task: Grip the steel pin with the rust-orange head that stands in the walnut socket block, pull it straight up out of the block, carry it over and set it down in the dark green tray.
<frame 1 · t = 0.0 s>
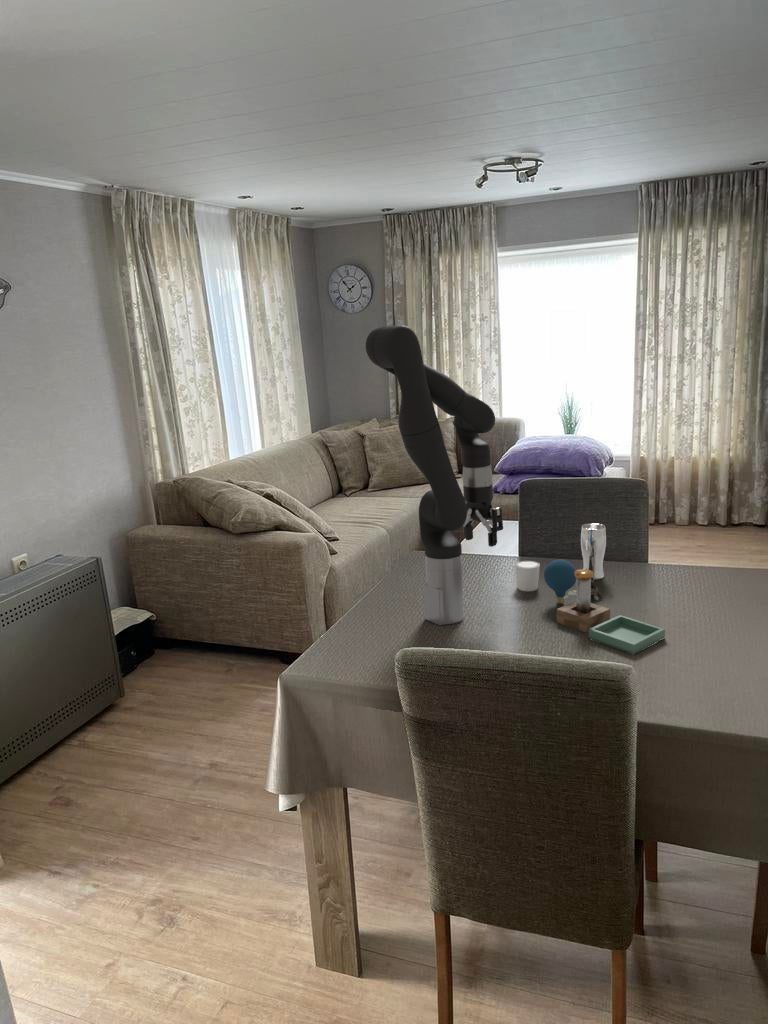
hand: (480, 542, 189), 17 cm above the table, tool pointing down, fingers open, 8 cm apart
pin: (583, 597, 177), in the socket block
tray: (626, 639, 167), on the table
white cylinder: (527, 588, 204), on the table
eiffel tower figurine: (591, 600, 194), on the table
socket block: (583, 622, 178), on the table
light bulb: (560, 604, 191), on the table
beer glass: (592, 576, 210), on the table
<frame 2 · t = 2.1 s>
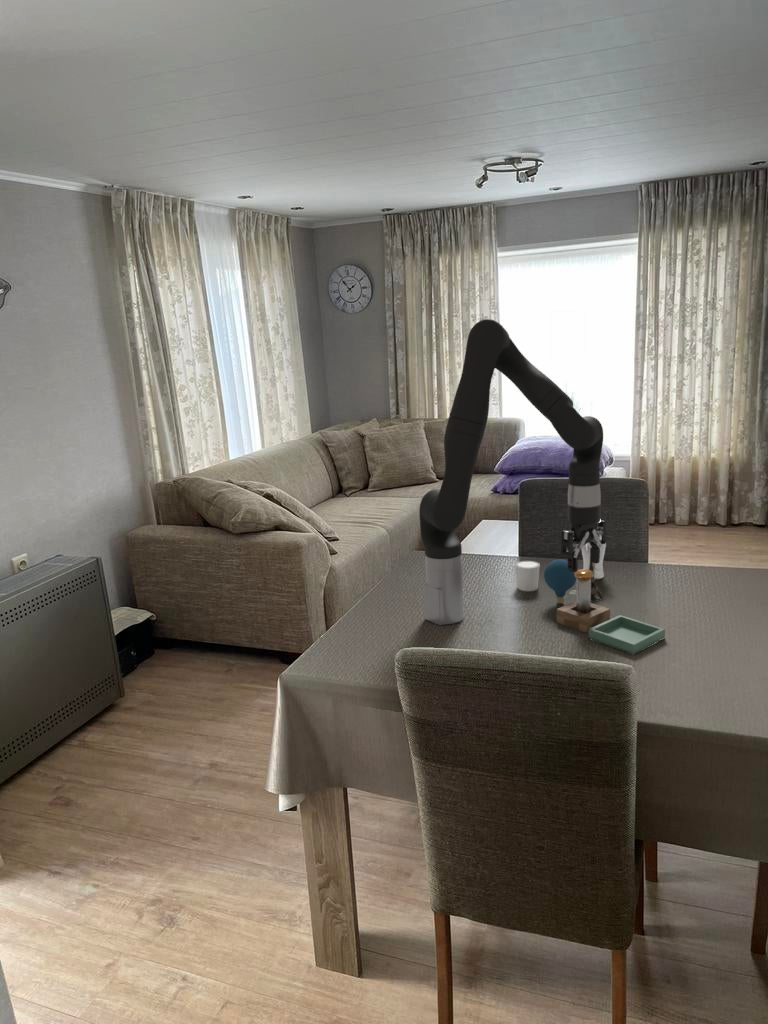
hand: (584, 566, 175), 14 cm above the table, tool pointing down, fingers open, 8 cm apart
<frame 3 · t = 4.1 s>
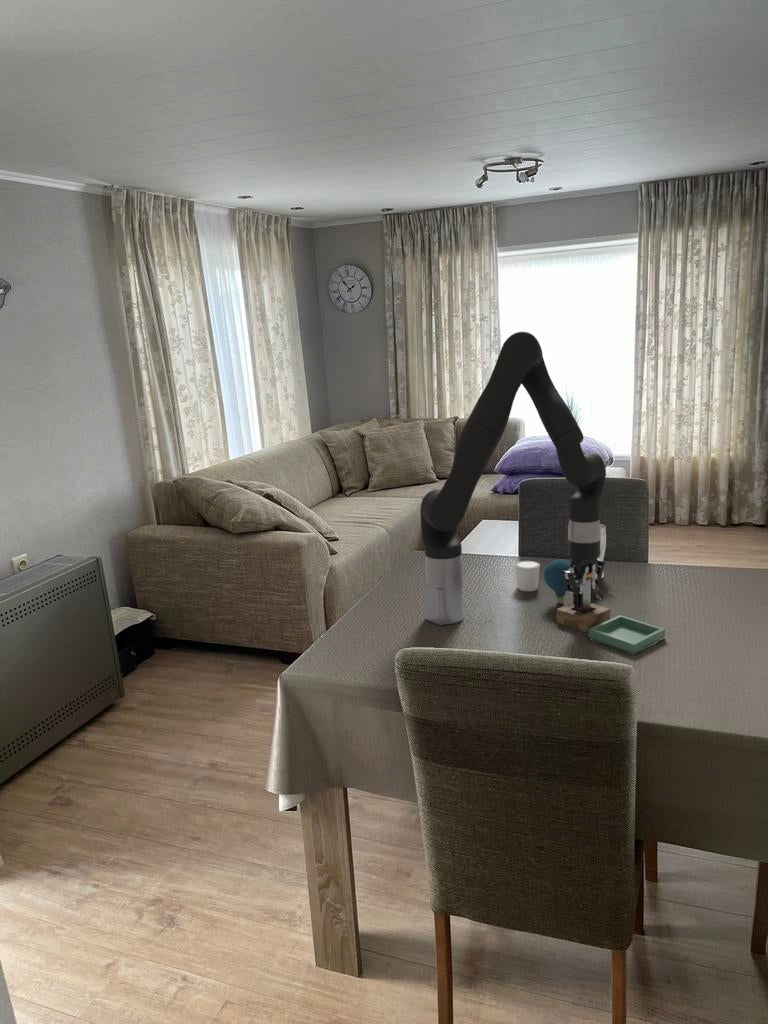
hand: (583, 604, 177), 5 cm above the table, tool pointing down, fingers closed on pin, 3 cm apart
pin: (583, 597, 177), in the socket block, touching gripper
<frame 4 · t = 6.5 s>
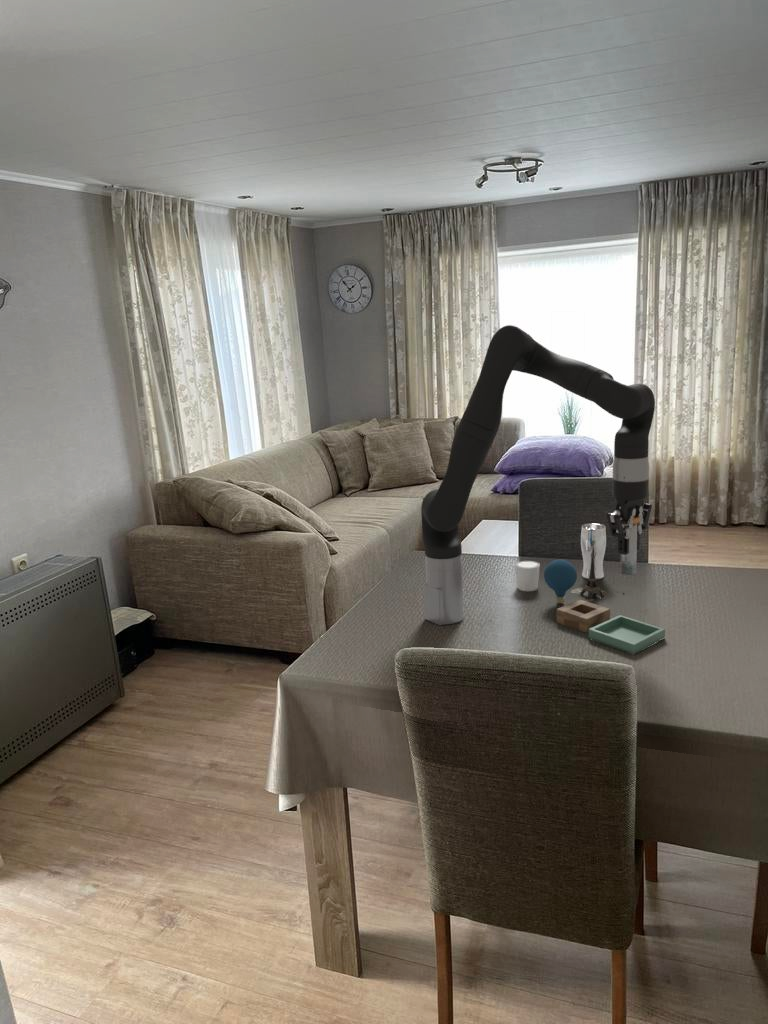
hand: (628, 551, 163), 21 cm above the table, tool pointing down, fingers closed on pin, 3 cm apart
pin: (628, 544, 162), point 23 cm above the table, touching gripper
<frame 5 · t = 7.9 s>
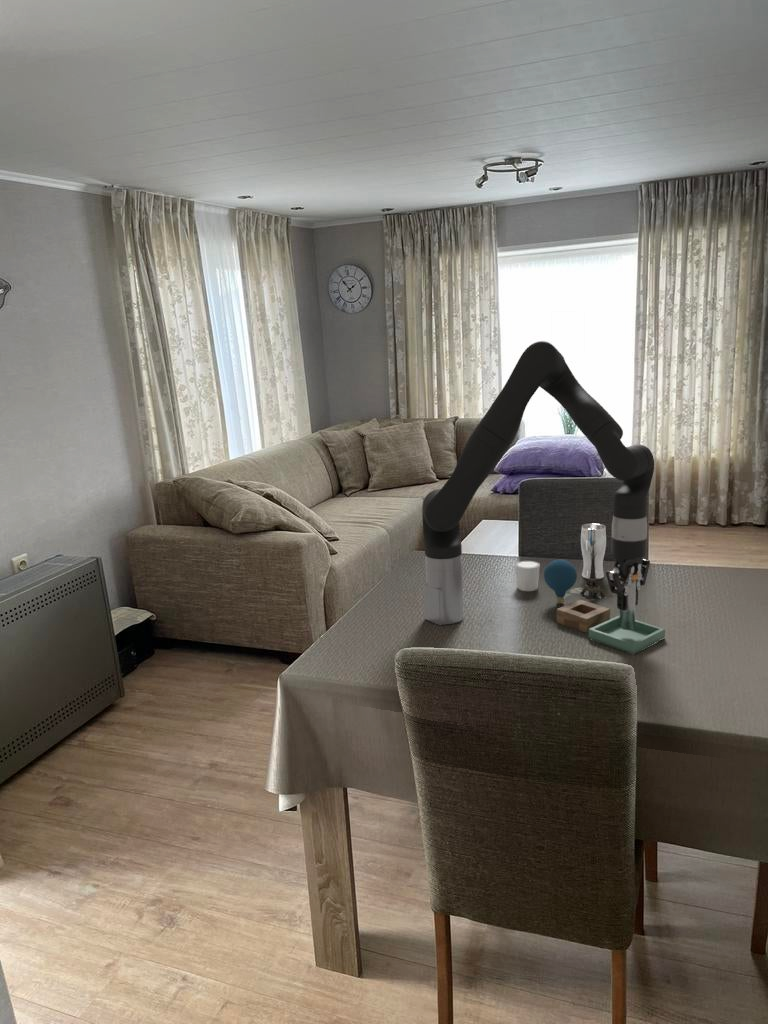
hand: (627, 606, 166), 8 cm above the table, tool pointing down, fingers closed on pin, 3 cm apart
pin: (627, 600, 165), point 9 cm above the table, touching gripper
when the fingers open (6 cm above the table, at t = 8.8 s): pin stays where it is, resting on tray.
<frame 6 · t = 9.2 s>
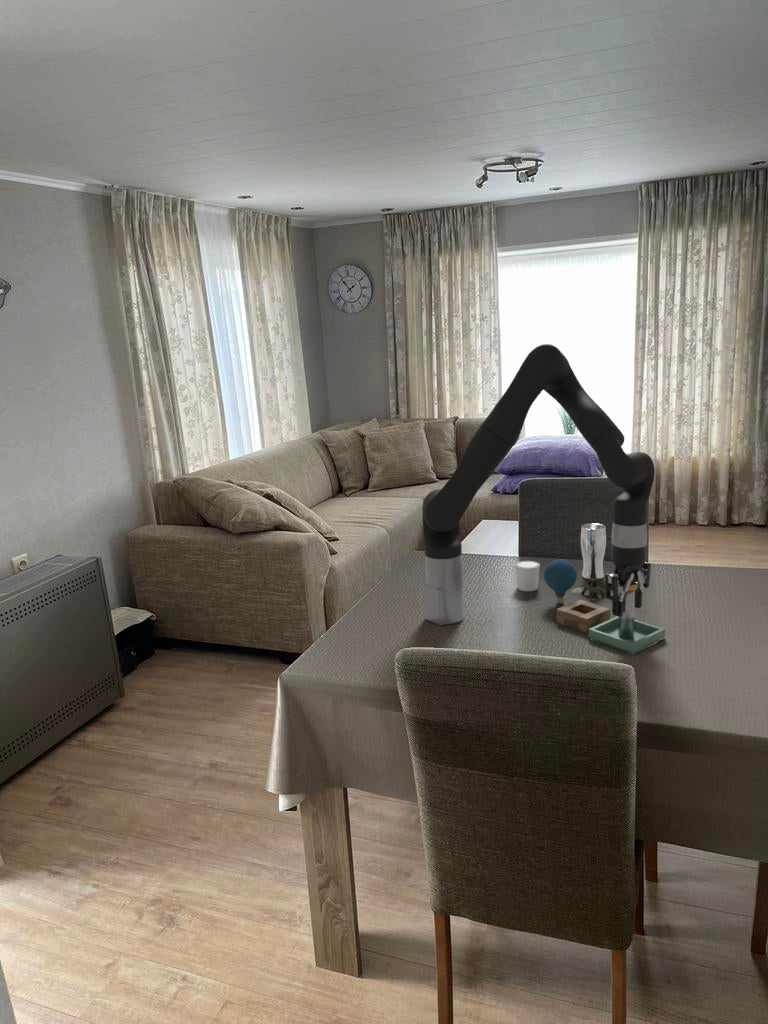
hand: (627, 611, 166), 7 cm above the table, tool pointing down, fingers open, 6 cm apart
pin: (626, 610, 166), in the tray, point 7 cm above the table
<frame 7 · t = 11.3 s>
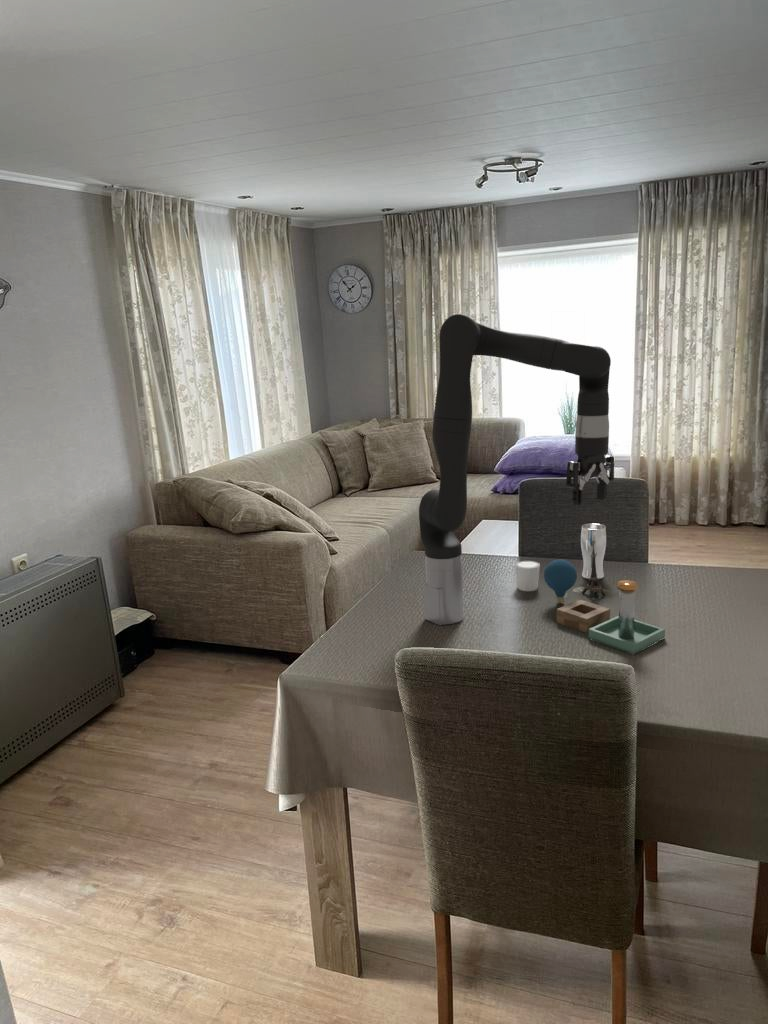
hand: (589, 501, 172), 30 cm above the table, tool pointing down, fingers open, 8 cm apart
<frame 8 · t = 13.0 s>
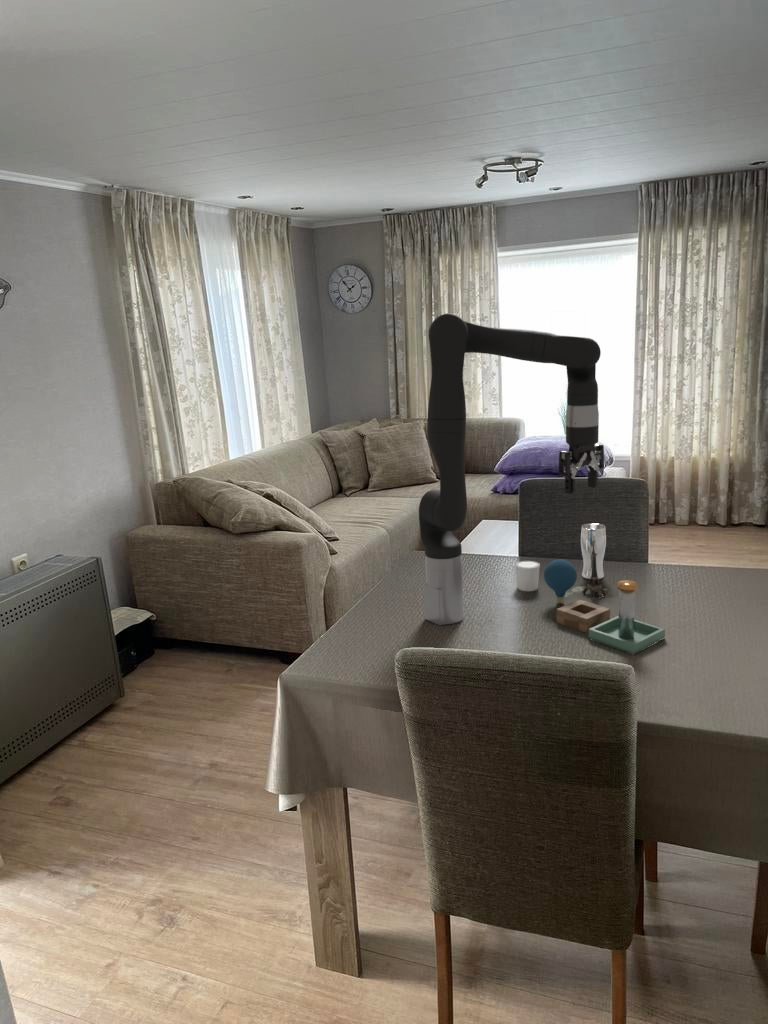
hand: (581, 490, 176), 32 cm above the table, tool pointing down, fingers open, 8 cm apart
at the end: pin inside the target area on the tray (0.1 cm from its centre), point 7.1 cm above the tray's base; the gripper is holding nothing; pin touching tray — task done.
